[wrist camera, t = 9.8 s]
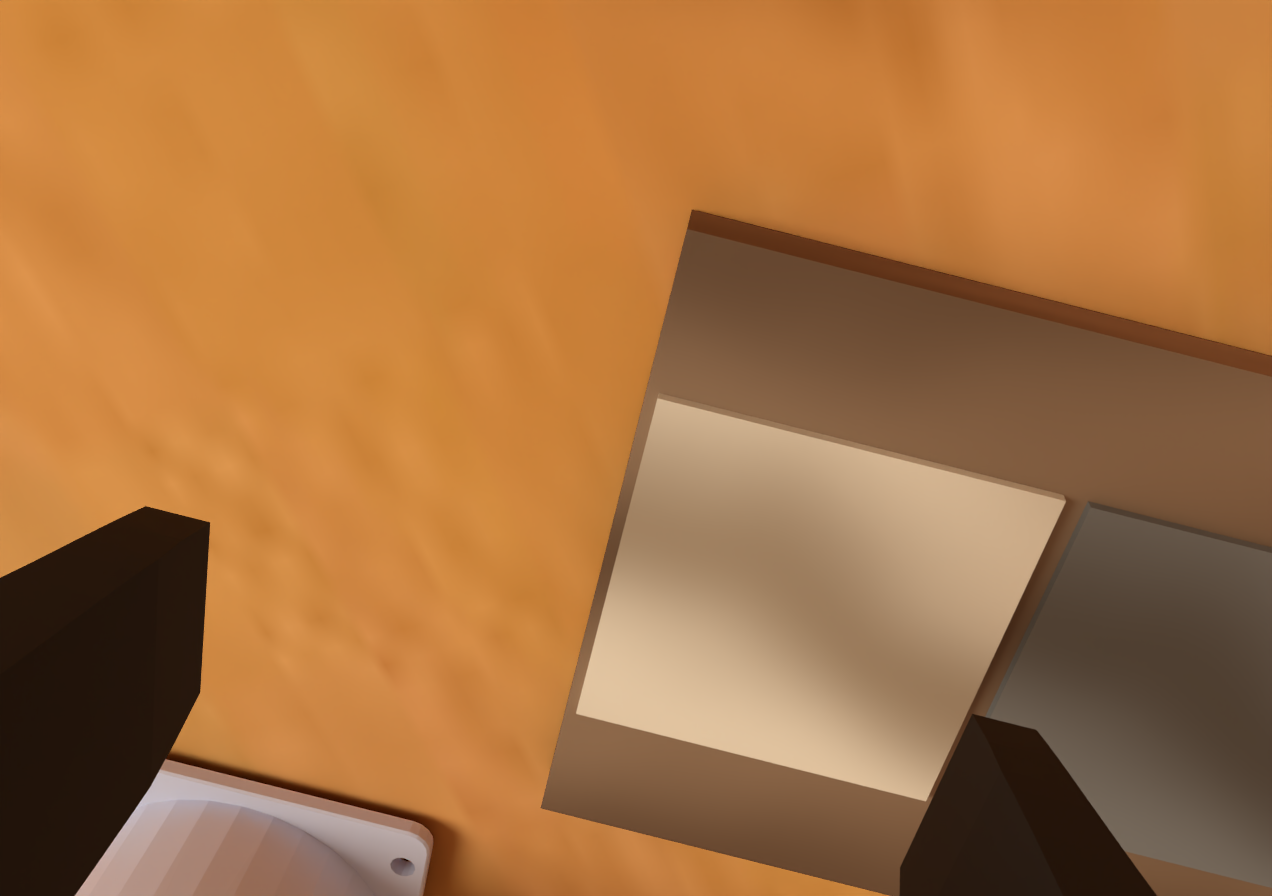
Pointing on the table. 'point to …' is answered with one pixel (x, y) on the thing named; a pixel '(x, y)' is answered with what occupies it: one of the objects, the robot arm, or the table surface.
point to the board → (927, 569)
